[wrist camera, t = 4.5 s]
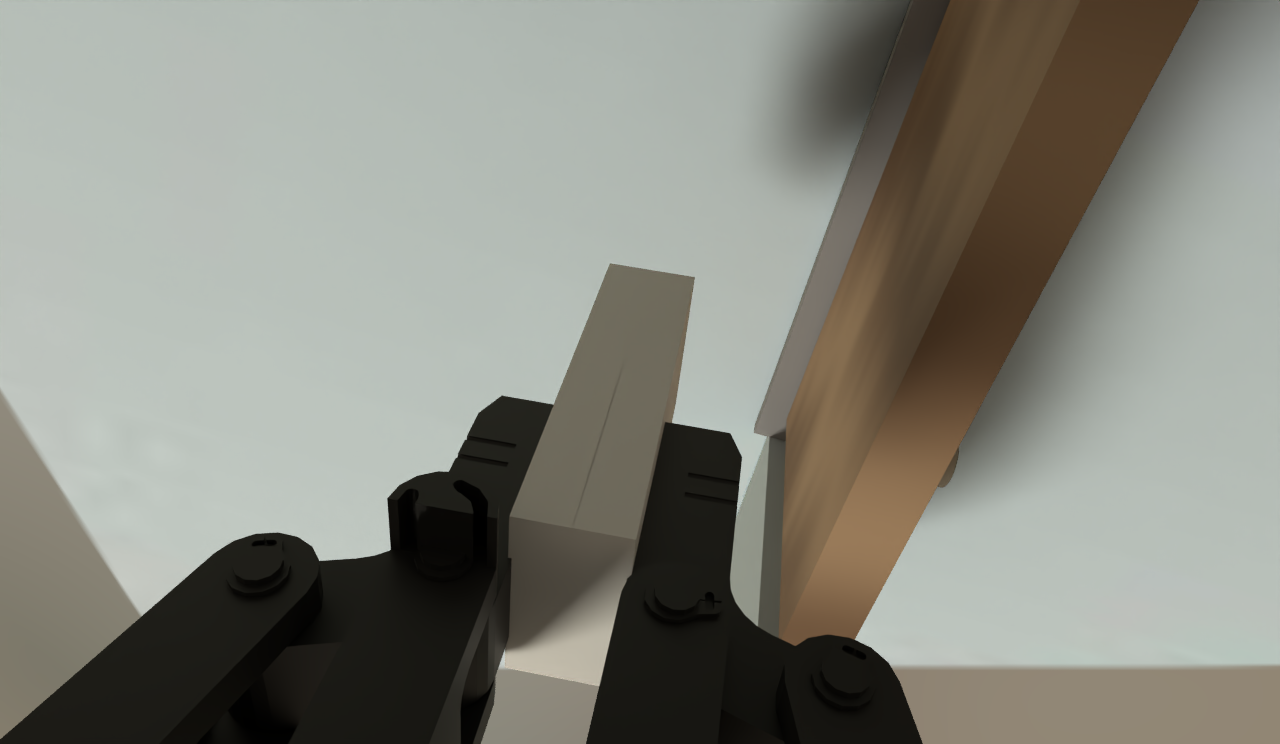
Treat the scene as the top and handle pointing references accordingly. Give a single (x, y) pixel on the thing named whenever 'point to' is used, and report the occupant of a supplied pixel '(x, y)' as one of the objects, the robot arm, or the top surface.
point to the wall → (821, 320)
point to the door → (950, 275)
